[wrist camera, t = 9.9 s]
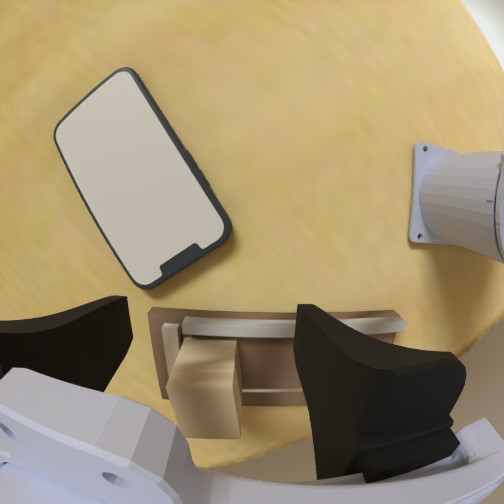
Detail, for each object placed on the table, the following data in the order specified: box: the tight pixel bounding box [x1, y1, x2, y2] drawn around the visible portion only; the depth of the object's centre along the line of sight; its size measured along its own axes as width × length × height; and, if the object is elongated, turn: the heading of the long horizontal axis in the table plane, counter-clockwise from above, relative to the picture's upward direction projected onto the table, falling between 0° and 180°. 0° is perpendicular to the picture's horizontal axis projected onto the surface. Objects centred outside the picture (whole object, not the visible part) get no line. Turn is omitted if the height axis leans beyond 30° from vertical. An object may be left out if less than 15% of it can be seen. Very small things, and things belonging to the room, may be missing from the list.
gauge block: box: [165, 336, 242, 439], centre depth 18 cm, size 4×5×6 cm
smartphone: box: [54, 67, 232, 290], centre depth 18 cm, size 9×2×16 cm
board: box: [148, 307, 407, 406], centre depth 21 cm, size 20×9×2 cm, turn 88°
